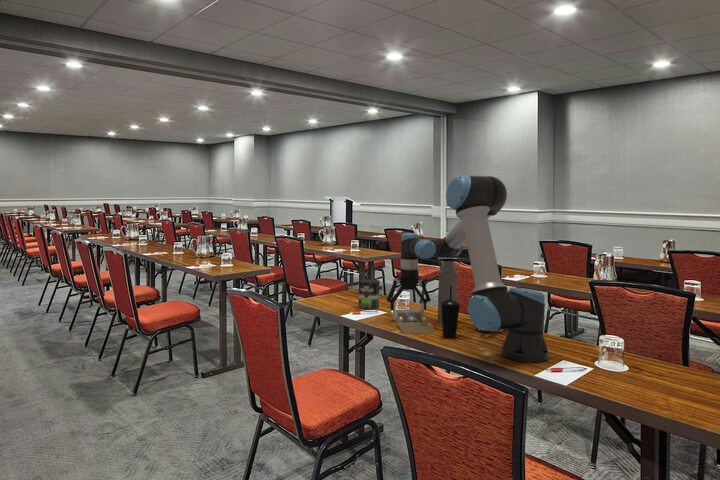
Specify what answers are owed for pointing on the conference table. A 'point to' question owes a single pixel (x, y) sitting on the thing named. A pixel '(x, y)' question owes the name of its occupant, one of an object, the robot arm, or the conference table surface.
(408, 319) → the grey mechanical part
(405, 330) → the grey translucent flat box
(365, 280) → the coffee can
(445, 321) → the drinking cup
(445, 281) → the thermos bottle
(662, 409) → the conference table surface
